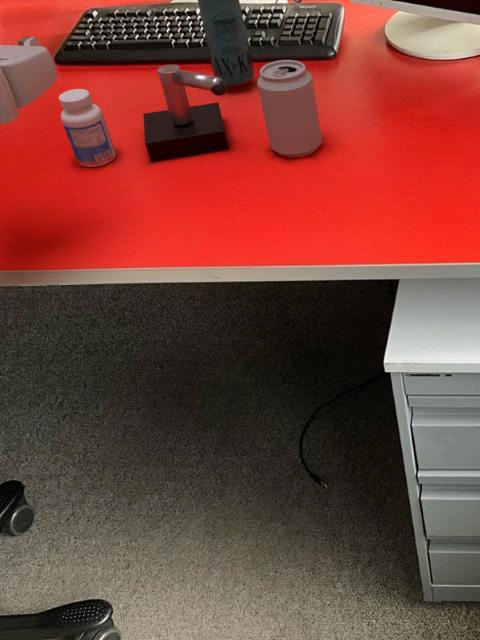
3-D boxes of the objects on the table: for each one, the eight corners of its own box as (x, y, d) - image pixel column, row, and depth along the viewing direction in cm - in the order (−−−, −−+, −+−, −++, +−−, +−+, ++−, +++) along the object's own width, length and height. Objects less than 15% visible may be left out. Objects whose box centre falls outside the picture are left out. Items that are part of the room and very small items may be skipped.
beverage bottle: (210, 85, 147) (178, -43, 134) (246, 74, 150) (219, -53, 137) (228, 98, 143) (198, -33, 130) (265, 86, 146) (239, -43, 133)
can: (333, 141, 131) (320, 61, 123) (304, 164, 126) (289, 82, 118) (290, 132, 134) (275, 53, 126) (260, 154, 129) (243, 73, 121)
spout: (228, 136, 126) (215, 83, 121) (167, 123, 130) (152, 70, 125) (241, 127, 128) (229, 74, 123) (181, 114, 132) (167, 62, 127)
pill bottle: (83, 151, 131) (60, 86, 124) (120, 149, 131) (99, 85, 124) (72, 169, 127) (47, 104, 120) (111, 167, 127) (88, 102, 120)
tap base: (151, 162, 128) (145, 143, 126) (148, 132, 135) (143, 113, 133) (229, 149, 130) (224, 130, 128) (222, 120, 137) (218, 102, 135)
